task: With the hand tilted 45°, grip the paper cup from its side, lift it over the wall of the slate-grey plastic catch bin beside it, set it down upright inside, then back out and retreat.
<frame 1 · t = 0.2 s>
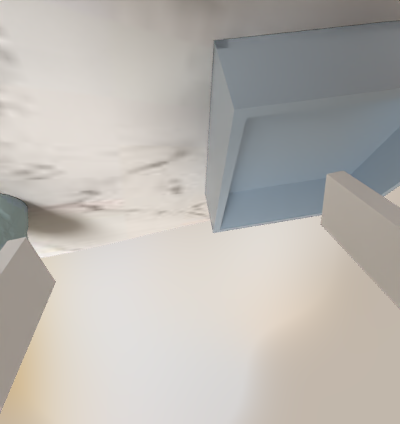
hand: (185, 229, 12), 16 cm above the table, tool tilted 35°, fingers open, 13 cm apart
catch bin: (309, 131, 33), on the table
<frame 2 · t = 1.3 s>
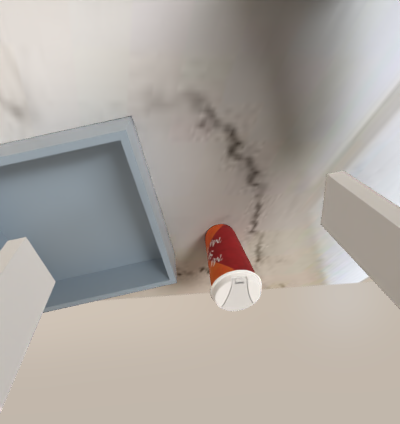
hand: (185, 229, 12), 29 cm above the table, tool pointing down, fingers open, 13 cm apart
catch bin: (78, 214, 43), on the table
paper cup: (219, 235, 49), on the table
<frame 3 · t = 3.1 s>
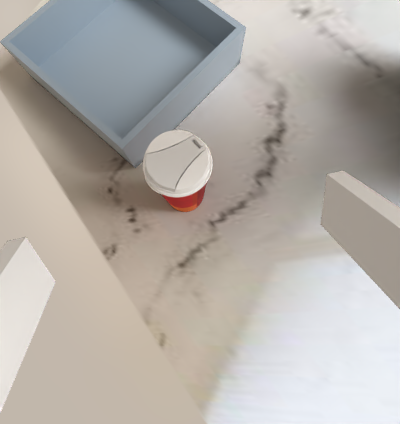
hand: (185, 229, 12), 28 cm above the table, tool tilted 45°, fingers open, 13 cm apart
catch bin: (134, 69, 46), on the table
paper cup: (185, 195, 41), on the table
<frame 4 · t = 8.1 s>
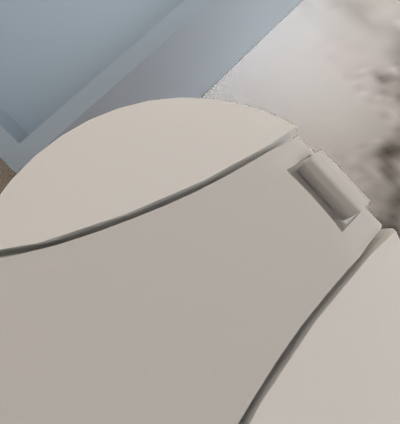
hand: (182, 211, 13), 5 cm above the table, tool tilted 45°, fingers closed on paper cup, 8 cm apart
paper cup: (198, 277, 18), on the table, touching gripper
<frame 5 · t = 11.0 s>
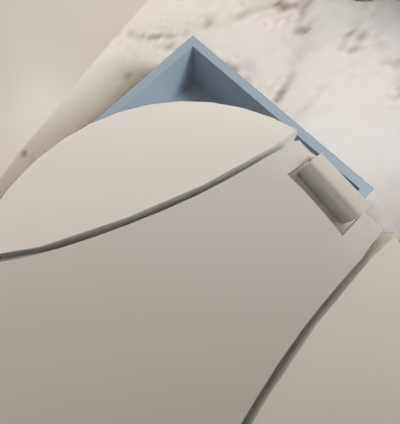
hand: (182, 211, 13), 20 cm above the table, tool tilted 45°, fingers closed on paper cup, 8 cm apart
catch bin: (194, 204, 34), on the table
paper cup: (198, 278, 18), point 15 cm above the table, touching gripper
when the fingers open (7 cm above the table, at t = 14.5 s): paper cup drops 1 cm, resting on catch bin.
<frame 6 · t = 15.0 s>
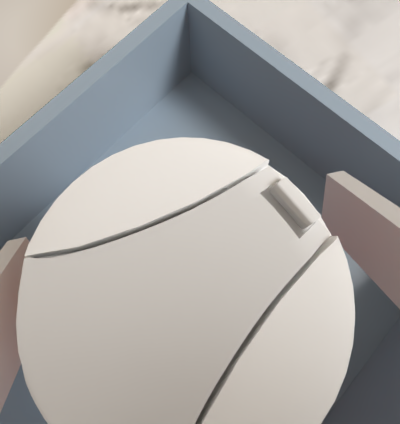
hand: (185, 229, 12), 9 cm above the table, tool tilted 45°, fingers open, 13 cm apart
catch bin: (198, 276, 20), on the table
paper cup: (196, 278, 19), point 1 cm above the table, touching catch bin
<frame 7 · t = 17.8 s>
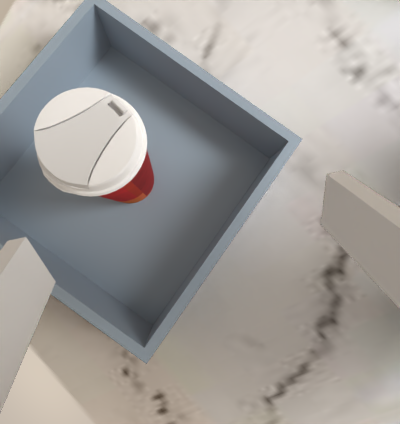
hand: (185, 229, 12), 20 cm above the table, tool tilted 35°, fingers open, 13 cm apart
catch bin: (133, 181, 32), on the table
paper cup: (130, 181, 31), point 1 cm above the table, touching catch bin
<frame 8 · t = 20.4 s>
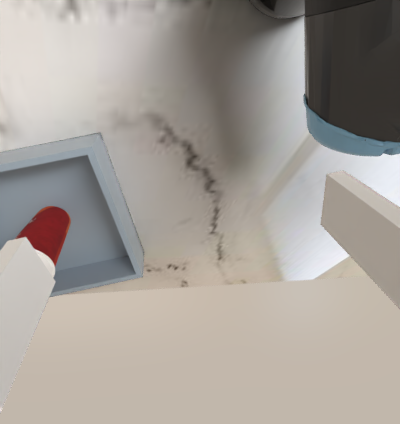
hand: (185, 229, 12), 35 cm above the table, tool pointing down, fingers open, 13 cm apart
catch bin: (56, 215, 49), on the table
paper cup: (54, 218, 48), point 1 cm above the table, touching catch bin
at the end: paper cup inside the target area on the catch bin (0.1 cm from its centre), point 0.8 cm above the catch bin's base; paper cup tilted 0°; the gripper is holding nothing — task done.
